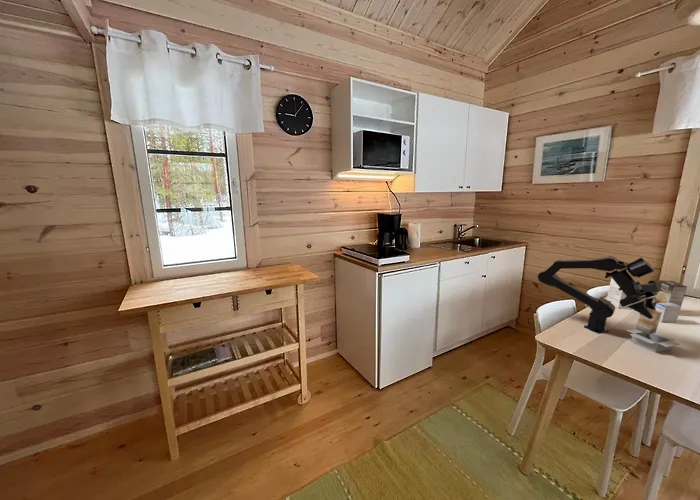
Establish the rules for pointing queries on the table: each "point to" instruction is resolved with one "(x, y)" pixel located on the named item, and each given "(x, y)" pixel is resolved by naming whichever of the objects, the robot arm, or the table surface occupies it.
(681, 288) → the coffee box
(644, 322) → the box
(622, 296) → the supplement box
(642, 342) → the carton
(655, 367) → the table surface
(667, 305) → the medicine box
